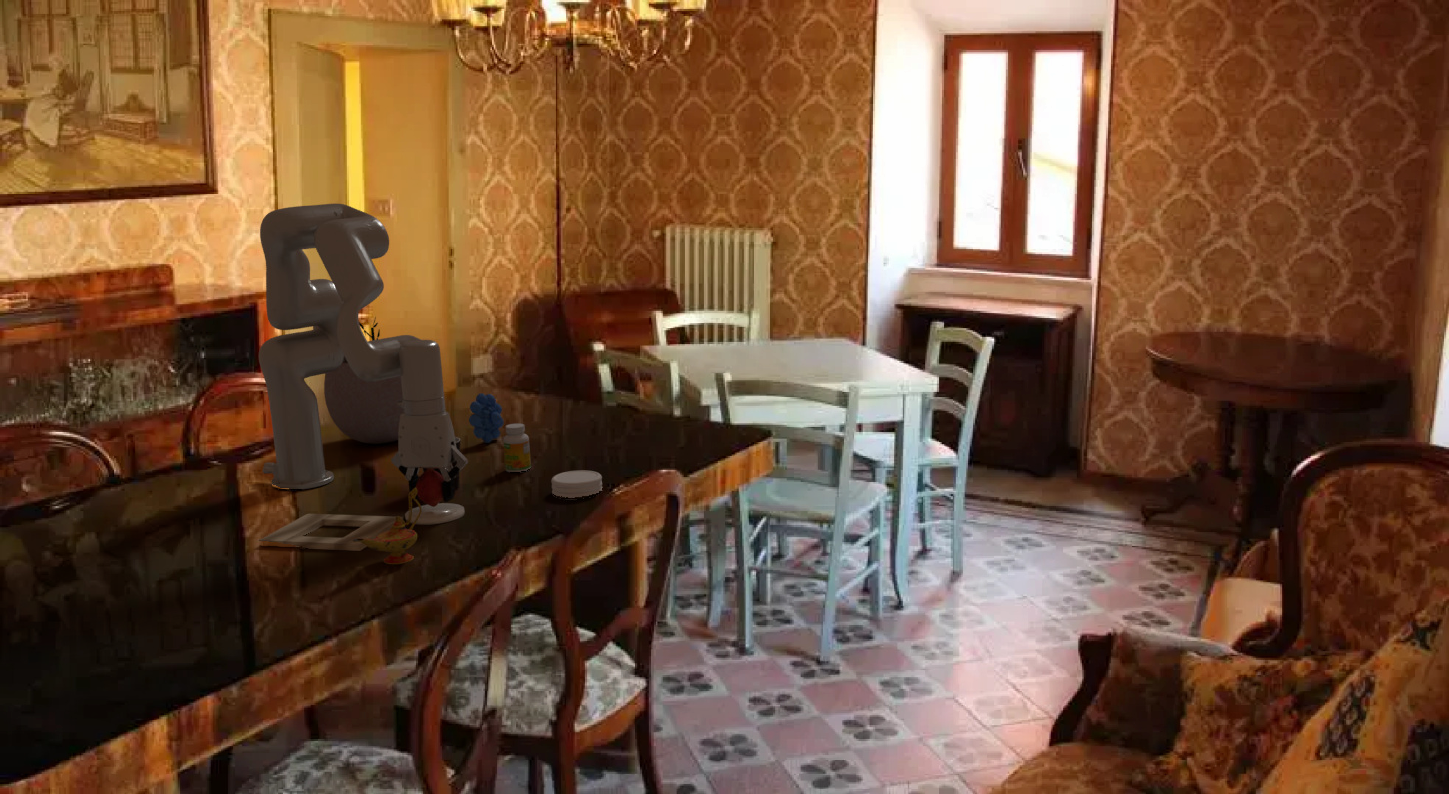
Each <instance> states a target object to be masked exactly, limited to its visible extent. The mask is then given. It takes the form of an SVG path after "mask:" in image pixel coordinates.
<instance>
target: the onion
mask: <svg viewBox="0 0 1449 794" xmlns="http://www.w3.org/2000/svg"><path fill="white" fill-rule="evenodd" d="M419 476H420V477H419V479H418V481H417V484H416V489H417V496H418V497H419V499H418V500H420V501H422V502H423V503H424V504H425V505H430V506H432V507H435V506H437V505H438V503H440V502H442V500H443V491H442V482H443V481H444V478H443V476H442V475H441V474H440V473H438V472H436V471H435V470H434V468H428V469H427V470H426V471H425V472H424V473H423V472H422V473H421V475H419Z"/></svg>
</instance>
